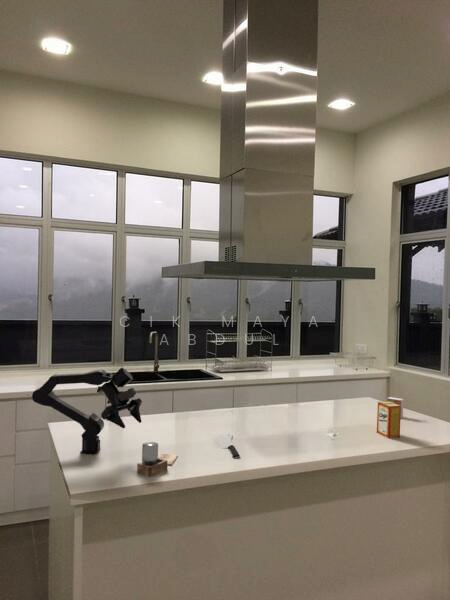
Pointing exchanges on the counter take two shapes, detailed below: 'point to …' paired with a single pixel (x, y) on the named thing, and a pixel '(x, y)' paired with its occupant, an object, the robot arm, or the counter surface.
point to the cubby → (152, 468)
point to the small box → (398, 402)
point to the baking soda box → (388, 419)
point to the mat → (168, 458)
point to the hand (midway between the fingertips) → (132, 424)
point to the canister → (150, 453)
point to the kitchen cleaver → (227, 444)
